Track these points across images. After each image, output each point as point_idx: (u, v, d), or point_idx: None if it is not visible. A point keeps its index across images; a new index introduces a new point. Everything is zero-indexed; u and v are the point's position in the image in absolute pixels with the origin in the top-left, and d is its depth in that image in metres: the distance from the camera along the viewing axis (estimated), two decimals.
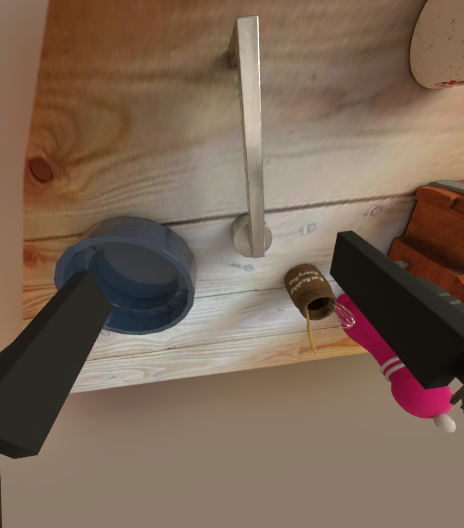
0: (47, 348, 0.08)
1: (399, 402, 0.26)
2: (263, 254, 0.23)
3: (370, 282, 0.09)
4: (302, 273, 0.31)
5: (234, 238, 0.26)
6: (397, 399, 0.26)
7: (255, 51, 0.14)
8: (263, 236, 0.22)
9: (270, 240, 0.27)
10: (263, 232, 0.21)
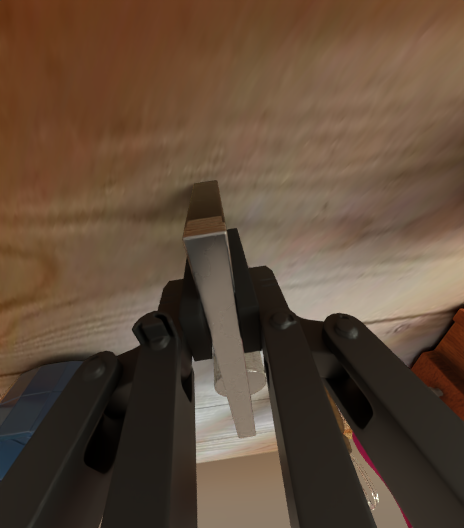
0: None
1: None
2: (253, 435, 0.16)
3: None
4: None
5: (216, 385, 0.19)
6: None
7: (225, 274, 0.07)
8: (252, 424, 0.15)
9: (264, 383, 0.20)
10: (252, 421, 0.15)
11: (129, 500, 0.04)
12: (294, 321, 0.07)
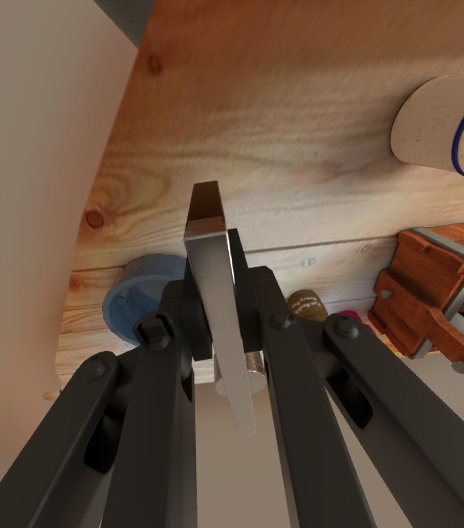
0: None
1: None
2: (253, 434, 0.16)
3: None
4: (303, 299, 0.36)
5: (216, 385, 0.19)
6: None
7: (226, 274, 0.07)
8: (252, 424, 0.15)
9: (264, 383, 0.20)
10: (252, 421, 0.15)
11: (129, 500, 0.04)
12: (294, 321, 0.07)
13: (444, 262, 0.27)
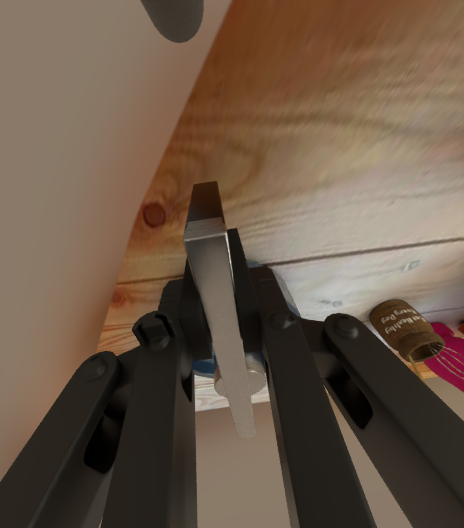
0: None
1: None
2: (253, 435, 0.16)
3: None
4: (399, 312, 0.29)
5: (216, 385, 0.19)
6: None
7: (225, 275, 0.07)
8: (252, 424, 0.15)
9: (264, 383, 0.20)
10: (252, 422, 0.15)
11: (129, 500, 0.04)
12: (294, 321, 0.07)
13: None
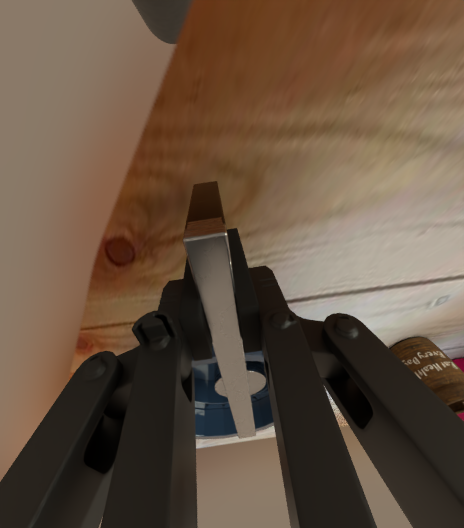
0: None
1: None
2: (253, 435, 0.16)
3: None
4: (423, 354, 0.24)
5: (216, 385, 0.19)
6: None
7: (225, 275, 0.07)
8: (252, 424, 0.15)
9: (264, 383, 0.20)
10: (252, 421, 0.15)
11: (129, 500, 0.04)
12: (294, 321, 0.07)
13: None
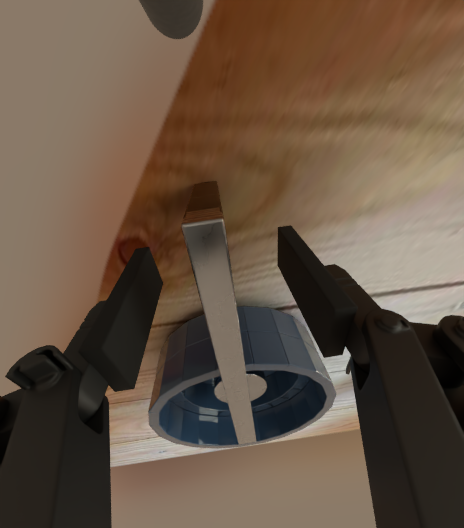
0: (132, 305, 0.09)
1: None
2: (253, 440, 0.16)
3: (295, 269, 0.10)
4: None
5: (215, 389, 0.19)
6: None
7: (222, 263, 0.07)
8: (252, 428, 0.15)
9: (265, 388, 0.20)
10: (252, 425, 0.14)
11: None
12: (407, 328, 0.06)
13: None
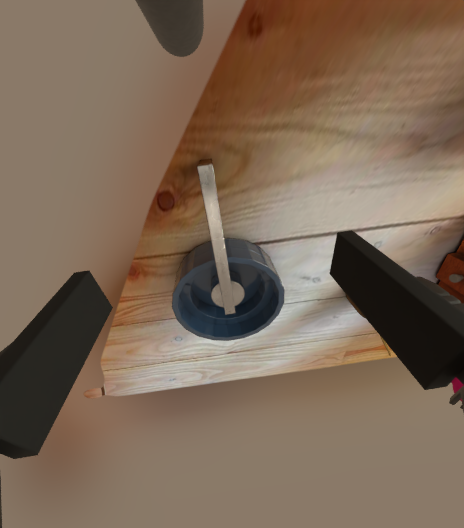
0: (47, 348, 0.08)
1: None
2: (233, 311, 0.27)
3: (370, 282, 0.09)
4: None
5: (212, 293, 0.30)
6: None
7: (212, 183, 0.19)
8: (232, 298, 0.26)
9: (243, 294, 0.31)
10: (231, 295, 0.26)
11: None
12: None
13: None
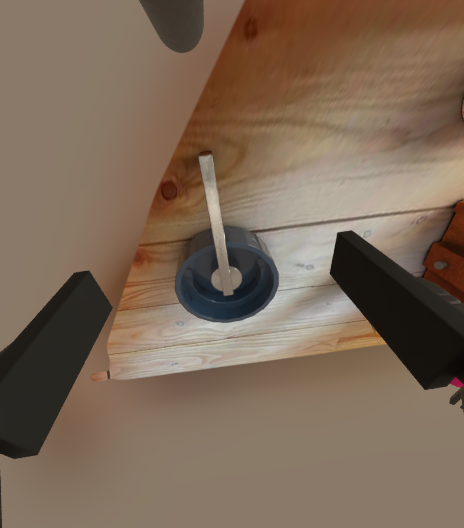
0: (47, 348, 0.08)
1: None
2: (231, 293, 0.30)
3: (370, 282, 0.09)
4: None
5: (211, 277, 0.33)
6: None
7: (212, 172, 0.21)
8: (230, 280, 0.28)
9: (241, 279, 0.33)
10: (229, 277, 0.28)
11: None
12: None
13: None
